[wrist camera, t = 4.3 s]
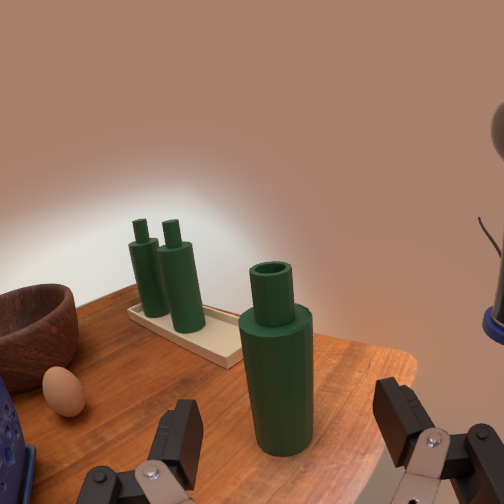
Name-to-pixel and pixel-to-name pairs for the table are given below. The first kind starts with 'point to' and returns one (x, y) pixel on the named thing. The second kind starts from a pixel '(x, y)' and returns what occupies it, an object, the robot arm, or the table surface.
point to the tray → (200, 335)
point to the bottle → (278, 361)
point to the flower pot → (14, 455)
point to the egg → (63, 392)
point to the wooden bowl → (36, 334)
